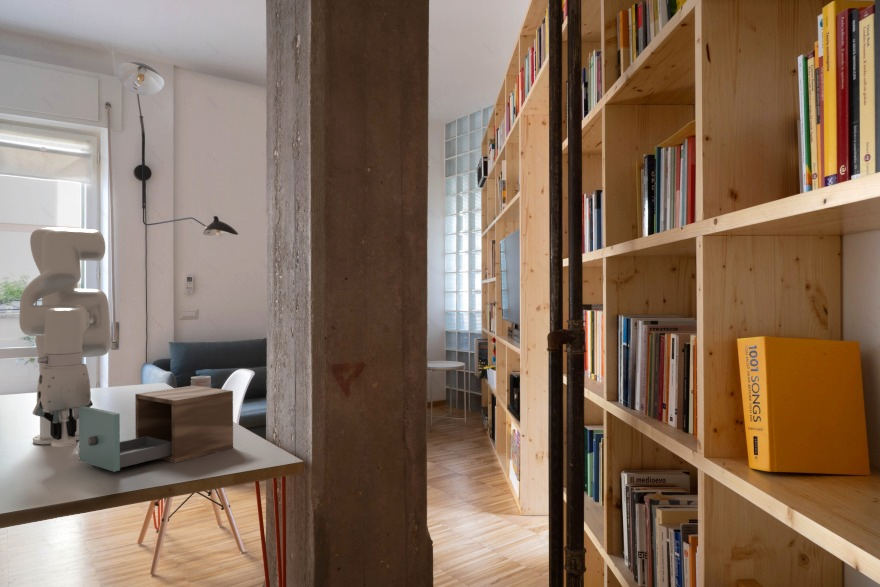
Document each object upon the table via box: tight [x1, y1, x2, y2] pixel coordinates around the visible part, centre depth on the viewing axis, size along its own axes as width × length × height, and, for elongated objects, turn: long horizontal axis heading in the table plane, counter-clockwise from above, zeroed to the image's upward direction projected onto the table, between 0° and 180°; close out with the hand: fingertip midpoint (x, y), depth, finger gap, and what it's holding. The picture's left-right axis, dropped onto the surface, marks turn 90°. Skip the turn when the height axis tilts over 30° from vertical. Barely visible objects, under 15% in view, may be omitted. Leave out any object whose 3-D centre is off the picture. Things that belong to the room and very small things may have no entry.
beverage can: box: [190, 375, 212, 388], centre depth 172 cm, size 6×6×15 cm
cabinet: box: [134, 385, 234, 463], centre depth 146 cm, size 17×16×15 cm
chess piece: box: [50, 409, 77, 448], centre depth 137 cm, size 5×5×10 cm
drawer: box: [78, 406, 172, 472], centre depth 134 cm, size 16×16×12 cm
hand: (63, 436), depth 137 cm, fingers closed on chess piece
